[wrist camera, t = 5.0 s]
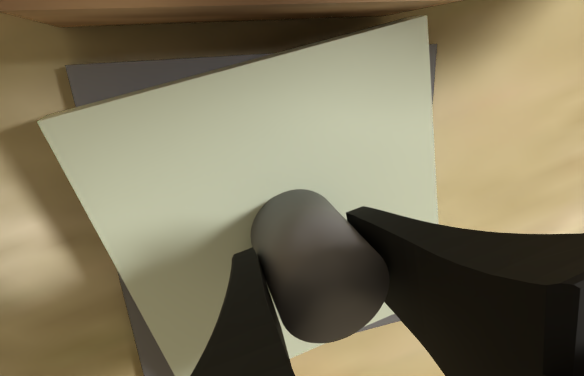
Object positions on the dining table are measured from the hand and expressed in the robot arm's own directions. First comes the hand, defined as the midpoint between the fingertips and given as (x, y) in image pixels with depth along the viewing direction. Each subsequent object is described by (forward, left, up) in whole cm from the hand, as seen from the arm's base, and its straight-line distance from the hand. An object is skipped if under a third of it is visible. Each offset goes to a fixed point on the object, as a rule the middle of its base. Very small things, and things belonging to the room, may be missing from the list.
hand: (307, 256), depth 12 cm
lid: (0, 0, -2) cm, 2 cm away
